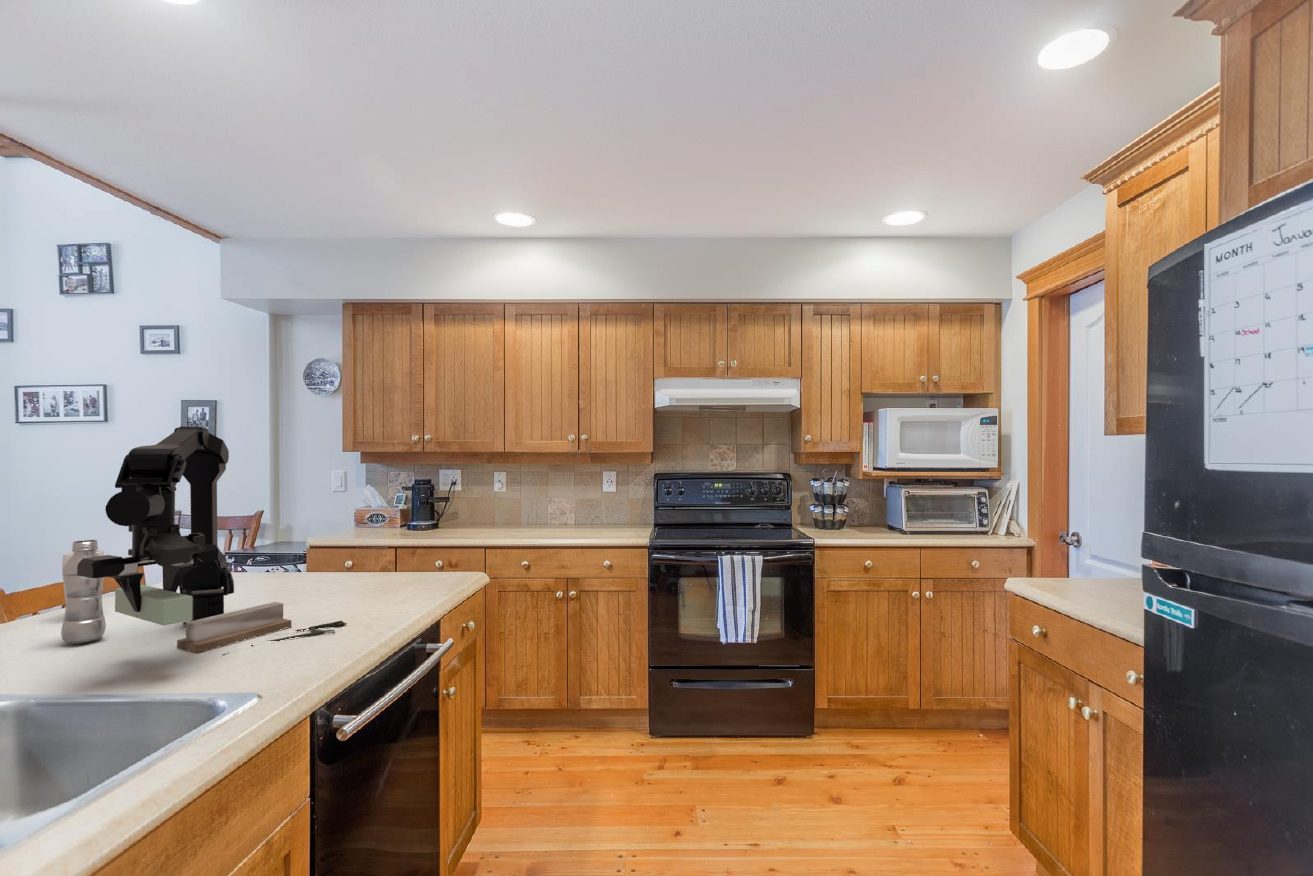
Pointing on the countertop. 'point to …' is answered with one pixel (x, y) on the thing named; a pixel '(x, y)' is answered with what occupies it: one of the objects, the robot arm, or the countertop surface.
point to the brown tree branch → (314, 630)
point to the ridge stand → (233, 627)
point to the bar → (157, 605)
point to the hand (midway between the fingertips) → (152, 608)
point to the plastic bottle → (82, 598)
